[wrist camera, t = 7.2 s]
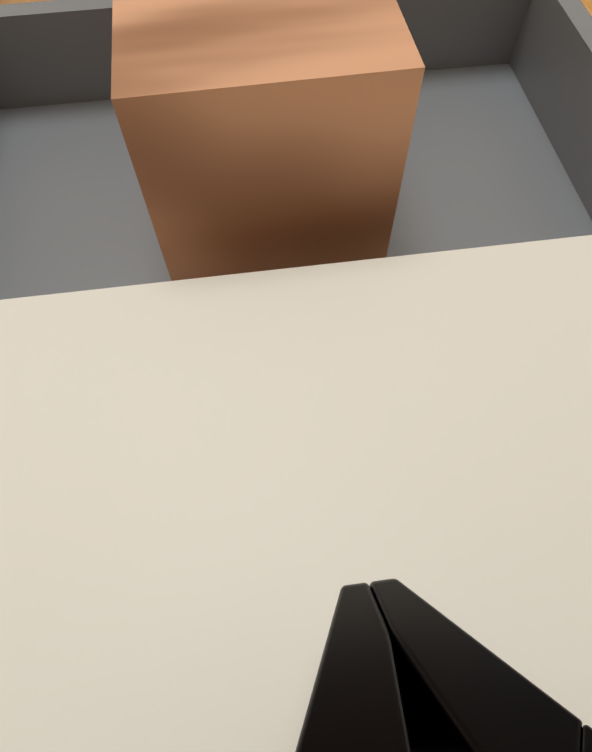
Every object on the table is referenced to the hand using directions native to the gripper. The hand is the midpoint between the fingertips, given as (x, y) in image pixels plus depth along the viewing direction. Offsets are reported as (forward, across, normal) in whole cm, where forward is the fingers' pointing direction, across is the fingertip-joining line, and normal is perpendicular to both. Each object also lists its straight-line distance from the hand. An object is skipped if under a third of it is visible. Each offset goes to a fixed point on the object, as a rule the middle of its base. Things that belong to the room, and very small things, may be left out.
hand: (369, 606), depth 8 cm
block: (+9, 0, -6) cm, 11 cm away
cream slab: (+6, 0, +3) cm, 6 cm away
